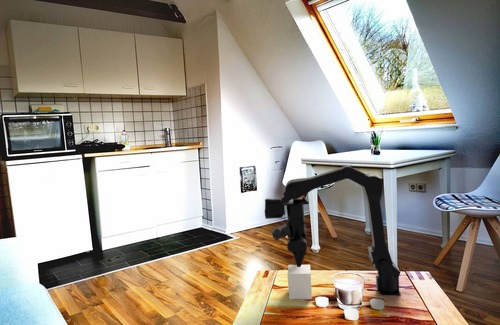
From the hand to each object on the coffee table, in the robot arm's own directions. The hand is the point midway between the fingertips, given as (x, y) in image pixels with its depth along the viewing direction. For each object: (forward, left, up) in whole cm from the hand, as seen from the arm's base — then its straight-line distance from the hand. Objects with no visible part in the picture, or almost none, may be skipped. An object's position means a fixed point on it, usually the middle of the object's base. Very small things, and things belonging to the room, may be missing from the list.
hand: (299, 261), depth 125 cm
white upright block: (0, +2, -11) cm, 11 cm away
